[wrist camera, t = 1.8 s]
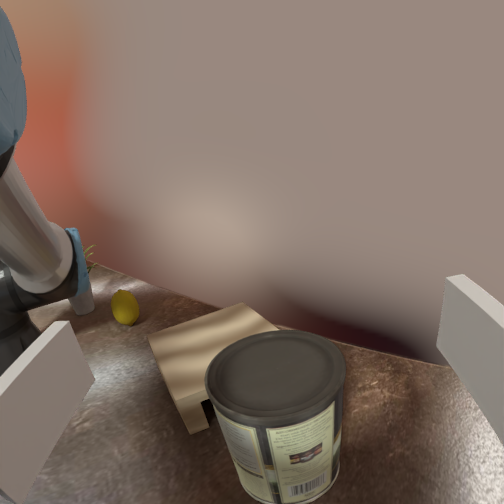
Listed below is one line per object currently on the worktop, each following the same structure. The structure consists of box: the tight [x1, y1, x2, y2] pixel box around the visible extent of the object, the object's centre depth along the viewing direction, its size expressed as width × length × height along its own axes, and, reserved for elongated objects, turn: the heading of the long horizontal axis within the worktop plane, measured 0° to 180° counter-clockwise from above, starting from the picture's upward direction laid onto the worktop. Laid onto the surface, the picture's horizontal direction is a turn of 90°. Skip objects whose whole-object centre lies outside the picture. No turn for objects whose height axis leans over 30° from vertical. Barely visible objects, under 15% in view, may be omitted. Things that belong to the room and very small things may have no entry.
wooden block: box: [147, 302, 279, 435], centre depth 41 cm, size 16×16×6 cm
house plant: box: [68, 246, 97, 315], centre depth 66 cm, size 14×14×16 cm
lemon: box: [111, 289, 139, 326], centre depth 58 cm, size 6×6×8 cm
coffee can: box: [204, 330, 346, 504], centre depth 24 cm, size 10×10×14 cm
